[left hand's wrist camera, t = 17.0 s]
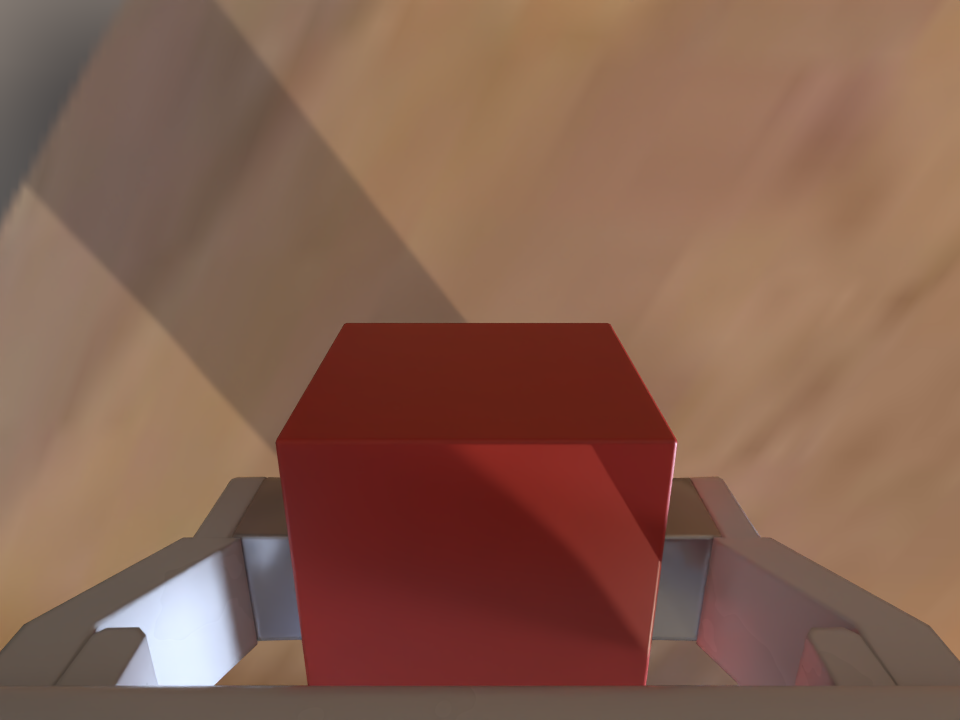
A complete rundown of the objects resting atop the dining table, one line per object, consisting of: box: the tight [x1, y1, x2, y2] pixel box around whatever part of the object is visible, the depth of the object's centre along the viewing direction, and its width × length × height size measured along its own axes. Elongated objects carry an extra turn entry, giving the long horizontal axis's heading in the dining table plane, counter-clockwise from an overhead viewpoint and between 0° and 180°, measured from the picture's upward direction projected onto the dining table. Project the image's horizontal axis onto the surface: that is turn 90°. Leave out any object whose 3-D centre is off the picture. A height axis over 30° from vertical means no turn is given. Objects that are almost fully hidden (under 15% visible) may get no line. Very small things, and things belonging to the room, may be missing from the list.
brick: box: [276, 323, 677, 686], centre depth 10 cm, size 5×5×4 cm
